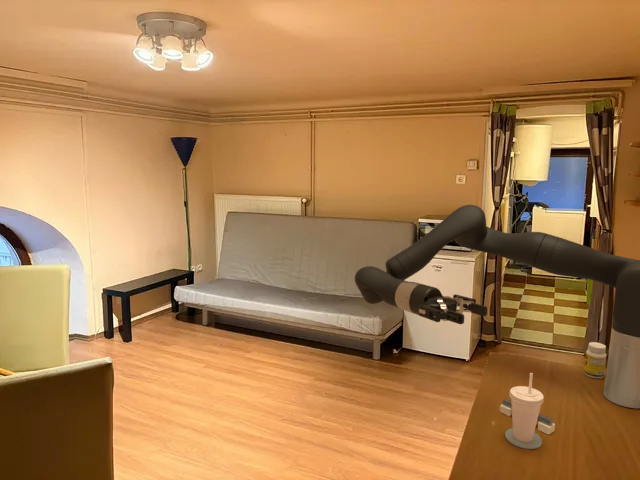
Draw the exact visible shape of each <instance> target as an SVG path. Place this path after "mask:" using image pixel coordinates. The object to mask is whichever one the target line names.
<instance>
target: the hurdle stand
mask: <svg viewBox="0 0 640 480" xmlns="http://www.w3.org/2000/svg"><path fill="white" fill-rule="evenodd" d="M499 413H501V414H503V415H506V416H508V417H510V416H512V409H511V408H508V407H506V406H504V405H503V403H502V404H500V406H499ZM537 424H538V425H537V430H538V431H539V432H542V433H544V434H546V435H551V434H552V433H554V432H555V430H556V429H555V428H556V424H555V423H554V422H553V425H551V426H548V425H546V424H544V423H541V422H539V421H538V422H537Z"/></svg>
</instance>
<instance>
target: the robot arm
mask: <svg viewBox="0 0 640 480" xmlns="http://www.w3.org/2000/svg"><path fill="white" fill-rule="evenodd" d="M453 240H454V241H455V243H456V244H458V245H459V246H461V247H463V248H465V249H469V250H474V251H478V252H482V253H486V254H491V255H494V256H498V257H502V258H503V259H504V258H505V259H508V260H510V261H514V262H517V263H519V264H523V265H526V266H529V267H532V268H533V269H538V270H540V271H544V272H545V273H549V274H553V275H557V276H562V277H568V278H569V277H570V278H577V279H587V280H590V281H591V280H592V281H595V282H598V283H601V284H605V285H608V286H610V287H612V288H614V290H615V292H614V300H613V309H612V323H611V333H610V341H609V349H608V357H607V364H606V369H605V371H606V372H605V379H604V387H603V396H604V398H605V399H607V400H608V401H610V402H611V403H613V404H615V405H618V406H621V407H625V408H631V409H640V260H639V259H634V258H630V257H624V256H620V255H615V254H609V253H606V252H603V251H600V250H597V249H595V248H592V247H589V246H587V245H583V244H580V243H577V242H576V241H575V242H574V241H571V240H568V239H566V238H563V237H559V236H556V235H552V234H549V233H545V232H541V231H528V232H527V231H526V232H517V233H516V232H515V233H509V232H504V231H500V230H498V229H494V228H491V227H489V226H487V218H486V214H485V212H484V210H483V209H482V208H481V207H479V206H478V205H475V204H465V205H462V206H460V207H457V209H455V210H454V211H452V212H451V213H450V214H448V215H447V216H446V217H445V219H443V220H442V221H441V222H440V223H438V224H437V225H436V226H435V227H433V229H431V230H430V231H428V233H426V234H425V235H424V236H422V237H421V238H420V239H418V240H417V241H416V242H414V243H413V244H411V245H409V246H408V247H407V248H405V249H403V250H402V251H400V252H398V253H397V254H395V255H394V256H392V257H390V258H388V259H387V260H386V262H385V270H386V271H385V270H383V269H381V268H379V267H376V266H371V265H366V266H363V267H361V268H359V269H358V270H357V271H356V273H355V275H354V283H355V285H356V286H357V288H358V290H359V292H360V294H361V296H362V298H363V300H364V301H365V302H366V303H368V304H371V305H376V304H380V303H382V302H384V303H386V304H387V305H390V306H392V307H396V308H399V309H402V310H404V311H405V312H408V313H412V314H414V315H416V316H419V317H421V318H424V319H428V320H430V321H432V322H435V323H440V322H441V320H442V322H452V323H455V324H456V325H457V324H458V325H463V324H464V323H465V315H464V314H463V313H470V314H471V313H472V314H475V315H478V316H482V317H486V316H487V315H488V307H487V306H486V305H483V304H479V303H477V299H475V298H471V297H468V296H463V295H460V294H457V293H456V294H453V295H452V297H451V296H449V295H445V296H444V295H443V294H442V292H441V290H440V289H439V288H437V287H435V286H431V285H428V284H423V283H419V282H415V281H407V279H408V278H409V279H410V277H412V276H414V275H416V274H417V273H419V272H420V271H421V270H422V269H424V268H425V267H426V266H427V265H428V264H429V263H430V262H432V260H433V259H434V258H435V257H436V256H437V254H438V253H440V251H441V250H443V249H444V247H446V245H448V244H449V243H451V242H453ZM458 307H459V308H458Z"/></svg>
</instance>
